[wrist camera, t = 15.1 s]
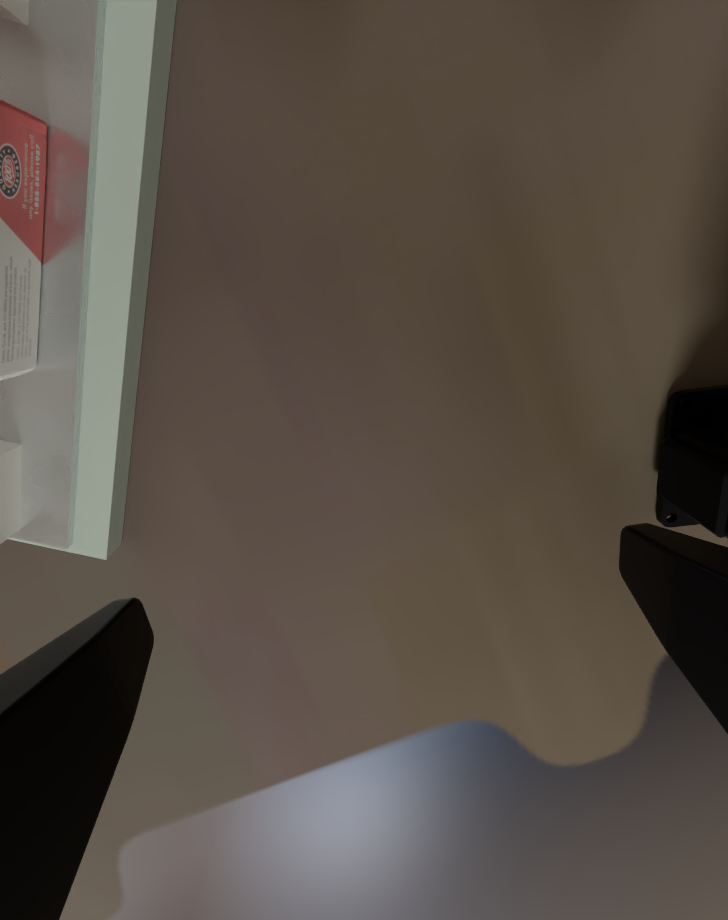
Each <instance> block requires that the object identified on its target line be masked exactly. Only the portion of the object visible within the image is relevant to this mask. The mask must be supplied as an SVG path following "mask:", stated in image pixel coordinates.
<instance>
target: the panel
mask: <svg viewBox="0 0 728 920" xmlns="http://www.w3.org/2000/svg"><path fill="white" fill-rule="evenodd" d="M176 4H177V0H107V4H106V20H105V36H104V52H103V69H102V85H101V101H100V117H99V134H98V150H97V166H96V182H95V198H94V215H93V231H92V247H91V263H90V280H89V296H88V312H87V328H86V344H85V361H84V377H83V393H82V409H81V426H80V442H79V458H78V474H77V490H76V507H75V523H74V539H73V544H72V545H71V546H70V547H69V548H68V549H63V548H59V547H54V546H49V545H45V544H40V543H35V542H31V541H26V540H21V539H17V538H12V537H9V538H8V539H11V540H15V541H20V542H25V543H29V544H34V545H39V546H43V547H48V548H53V549H58V550H62V551H67V552H72V553H76V554H81V555H86V556H90V557H95V558H100V559H105V560H107V559H108V557H109V556H110V555H111V554H112V553H113V552H114V551H115V550H116V549H117V548H118V546H119V545H120V544H121V543H122V534H123V524H124V514H125V504H126V495H127V485H128V475H129V465H130V455H131V446H132V436H133V426H134V416H135V406H136V397H137V387H138V377H139V367H140V357H141V348H142V338H143V328H144V318H145V308H146V299H147V289H148V279H149V269H150V259H151V249H152V240H153V230H154V220H155V210H156V200H157V191H158V181H159V171H160V161H161V151H162V142H163V132H164V122H165V112H166V102H167V93H168V83H169V73H170V63H171V53H172V44H173V34H174V24H175V14H176Z"/></svg>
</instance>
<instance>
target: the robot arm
mask: <svg viewBox="0 0 728 920" xmlns="http://www.w3.org/2000/svg"><path fill="white" fill-rule="evenodd" d="M683 399H685V403H684V405H683V406H682V407H679V403H680V401H682V400H683ZM657 493H658V502H657V512H656V518H657V520H658V521H659V522H660V523H661V524H662V525H664V526H666V527H678V526H687V525H696V524H701V525H702V526H704V527H705V528H706V529H708V530H709V531H711V532H712V533H713V534H715V535H716V536H717V537H720V538H722V537H726V538H728V385H723V386H715V387H707V388H699V389H691V390H682V391H678V392H675V393H674V394H673V395H672V396H671V397H670V398H669V400H668V405H667V414H666V424H665V434H664V440H663V442H662V444H661V452H660V462H659V471H658V481H657ZM671 513H672V515H671V517H670V518H667V516H668V515H669V514H671ZM666 518H667V519H666ZM619 569H620V573H621V576H622V578H623V580H624V581H625V583H626V585H627V587H628V588H629V590H630V592H631V593H632V595H633V597H634V598H635V600H636V602H637V603H638V605H639V607H640V608H641V610H642V612H643V614H644V615H645V617H646V619H647V620H648V622H649V624H650V625H651V627H652V629H653V630H654V632H655V634H656V636H657V637H658V639H659V640H660V642H661V644H662V645H663V647H664V648H665V650H666V651H667V653H668V654H669V655H670V657H671V658H672V660H673V661H674V662H675V664H676V665H677V666H678V668H679V669H680V671H681V672H682V673H683V675H684V676H685V677H686V679H687V680H688V681H689V683H690V684H691V685H692V687H693V688H694V689H695V691H696V692H697V693H698V695H699V696H700V697H701V699H702V700H703V702H704V703H705V704H706V706H707V707H708V708H709V710H710V711H711V712H712V714H713V715H714V716H715V718H716V719H717V720H718V722H719V723H720V724H721V726H722V727H723V729H724V730H725V731H726V733H727V734H728V547H725V546H721V545H718V544H715V543H711V542H708V541H705V540H701V539H698V538H695V537H692V536H688V535H685V534H682V533H678V532H675V531H672V530H668V529H665V528H662V527H658V526H655V525H652V524H648V523H642V524H635V525H629V526H625V527H624V528H623V529H622V531H621V537H620V555H619ZM153 644H154V636H153V631H152V628H151V626H150V623H149V620H148V618H147V615H146V612H145V610H144V607H143V605H142V603H141V601H140V600H139V599H137V598H127V599H120V600H116V601H113V602H111V603H110V604H108V605H107V606H105V607H104V608H102V609H101V610H99V611H97V612H96V613H94V614H93V615H91V616H90V617H88V618H87V619H85V620H84V621H82V622H80V623H79V624H77V625H76V626H74V627H73V628H71V629H70V630H68V631H67V632H65V633H64V634H62V635H60V636H59V637H57V638H56V639H54V640H53V641H51V642H50V643H48V644H47V645H45V646H43V647H42V648H40V649H39V650H37V651H36V652H34V653H33V654H31V655H30V656H28V657H27V658H25V659H23V660H22V661H20V662H19V663H17V664H16V665H14V666H13V667H11V668H10V669H8V670H7V671H5V672H3V673H2V674H0V920H59V919H60V916H61V913H62V911H63V908H64V905H65V903H66V900H67V898H68V895H69V892H70V890H71V887H72V884H73V882H74V879H75V876H76V874H77V871H78V868H79V866H80V863H81V860H82V858H83V855H84V852H85V850H86V847H87V844H88V842H89V839H90V836H91V834H92V831H93V828H94V826H95V823H96V820H97V818H98V815H99V812H100V810H101V807H102V804H103V802H104V799H105V796H106V794H107V791H108V788H109V786H110V783H111V780H112V778H113V775H114V772H115V770H116V767H117V764H118V762H119V759H120V756H121V754H122V751H123V748H124V746H125V743H126V740H127V738H128V735H129V732H130V729H131V726H132V723H133V720H134V716H135V713H136V709H137V706H138V702H139V698H140V694H141V691H142V687H143V683H144V679H145V675H146V672H147V668H148V664H149V660H150V656H151V653H152V649H153Z"/></svg>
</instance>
